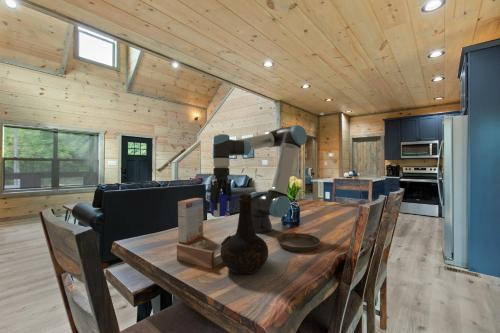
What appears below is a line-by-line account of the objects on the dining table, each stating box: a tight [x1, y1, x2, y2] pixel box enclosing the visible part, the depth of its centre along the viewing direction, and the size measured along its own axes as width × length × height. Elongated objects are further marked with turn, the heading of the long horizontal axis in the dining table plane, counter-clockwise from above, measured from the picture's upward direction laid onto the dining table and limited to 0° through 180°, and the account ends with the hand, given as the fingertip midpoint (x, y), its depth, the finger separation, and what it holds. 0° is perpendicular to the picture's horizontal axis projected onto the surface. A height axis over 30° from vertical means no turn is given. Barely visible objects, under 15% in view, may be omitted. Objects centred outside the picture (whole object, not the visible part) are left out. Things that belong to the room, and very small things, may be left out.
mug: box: [209, 193, 236, 218], centre depth 114 cm, size 8×12×10 cm
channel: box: [176, 239, 224, 269], centre depth 101 cm, size 17×18×6 cm
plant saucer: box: [276, 232, 321, 252], centre depth 116 cm, size 21×21×3 cm
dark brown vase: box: [220, 193, 269, 275], centre depth 89 cm, size 18×18×28 cm
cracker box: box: [177, 197, 204, 244], centre depth 125 cm, size 14×6×21 cm, turn 155°
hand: (221, 215), depth 113 cm, fingers closed on mug, 7 cm apart
